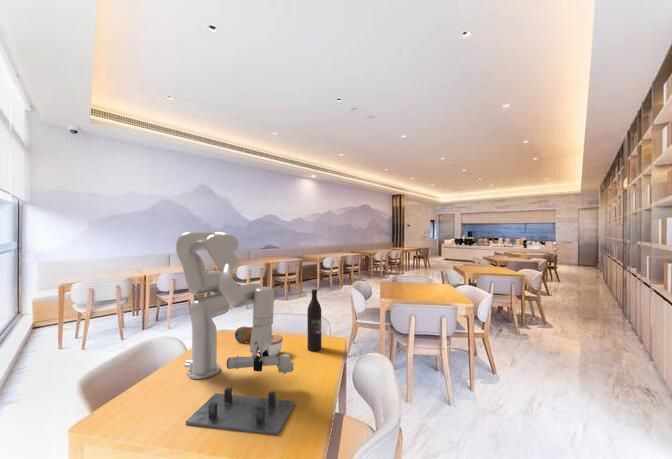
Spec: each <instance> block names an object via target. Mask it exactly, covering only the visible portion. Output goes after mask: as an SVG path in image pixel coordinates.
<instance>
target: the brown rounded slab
mask: <svg viewBox="0 0 672 459" xmlns="http://www.w3.org/2000/svg"><path fill="white" fill-rule="evenodd" d="M252 328H253V326H240V327H238V328H237V329H236V330H235V332H234V338H235V341H237V342H238V343H239V342H247V343H246V344H250V343H251V334H252Z"/></svg>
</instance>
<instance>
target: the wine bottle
mask: <svg viewBox="0 0 672 459" xmlns="http://www.w3.org/2000/svg"><path fill="white" fill-rule="evenodd" d="M306 314H307V315H306V316H307V350H308V351H310V352H319V351H321V349H322V306H321V304H320V302H319V300H318V289H315V288H313V289H312V290H311V300H310V302H309V304H308V306H307V313H306Z"/></svg>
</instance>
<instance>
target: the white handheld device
mask: <svg viewBox="0 0 672 459" xmlns="http://www.w3.org/2000/svg"><path fill="white" fill-rule="evenodd" d="M294 365H295V361H293V360H292V357H291V355H290V354H289V353H284V354H280V355H277V356H262V367H267V366H276V368H277V369H278V374H281V373H282V374H283V375H284V374H288V373H292V372H294ZM226 368H227V370H232V369H236V370H238V369H243V368H244V369H245V368H246V369H247V368H254V361H253V357H252V356H239V355H236V356H232V357H228V358H227V360H226Z"/></svg>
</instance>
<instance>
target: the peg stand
mask: <svg viewBox="0 0 672 459" xmlns="http://www.w3.org/2000/svg"><path fill="white" fill-rule="evenodd" d="M295 405H296V401H295V400H286V399H277V392H276V391H269V393H268V394H267V398H266V397H256V396H246V395H234V394H233V387H225V389H224V392H223V393H214V394H213V395H212V396H211V397H210V398H209V399H208V400H207V401H205V403H203V405H201V406H200V407H199V408H198V409H197V410H196V411H195V412H194V413H193V414H192V415H191V416H189V418H187V419H186V420H185V425H186V426H187V425H188V426H195V427H202V428H211V429H220V430H226V431H228V430H229V431H238V432H246V433H251V434H252V433H254V434H262V435H269V436H270V435H271V436H277V437H278V436H280V433H281V432H282V430H283V428H284V426H285V424H286V422H287V420H288V419H289V417H290V415H291V413H292V410H293V409H294V407H295Z"/></svg>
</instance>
